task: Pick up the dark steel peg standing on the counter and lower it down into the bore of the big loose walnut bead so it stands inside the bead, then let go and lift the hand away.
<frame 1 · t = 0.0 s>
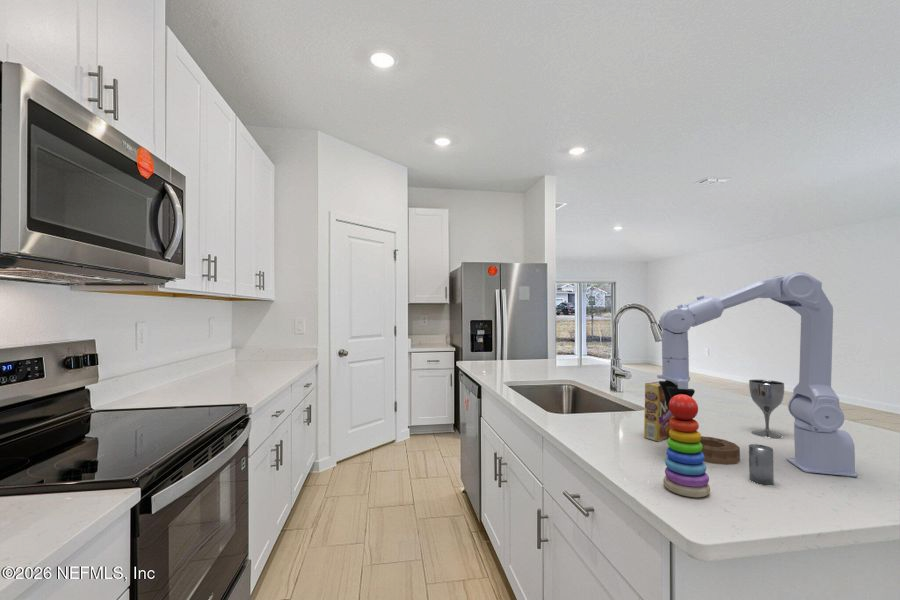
hand: (676, 413, 99), 10 cm above the worktop, tool pointing down, fingers open, 7 cm apart
wine glass: (767, 435, 115), on the worktop
steel peg: (761, 481, 83), on the worktop
stacking toy: (686, 490, 79), on the worktop
walnut bead: (711, 455, 98), on the worktop
candy box: (660, 438, 112), on the worktop
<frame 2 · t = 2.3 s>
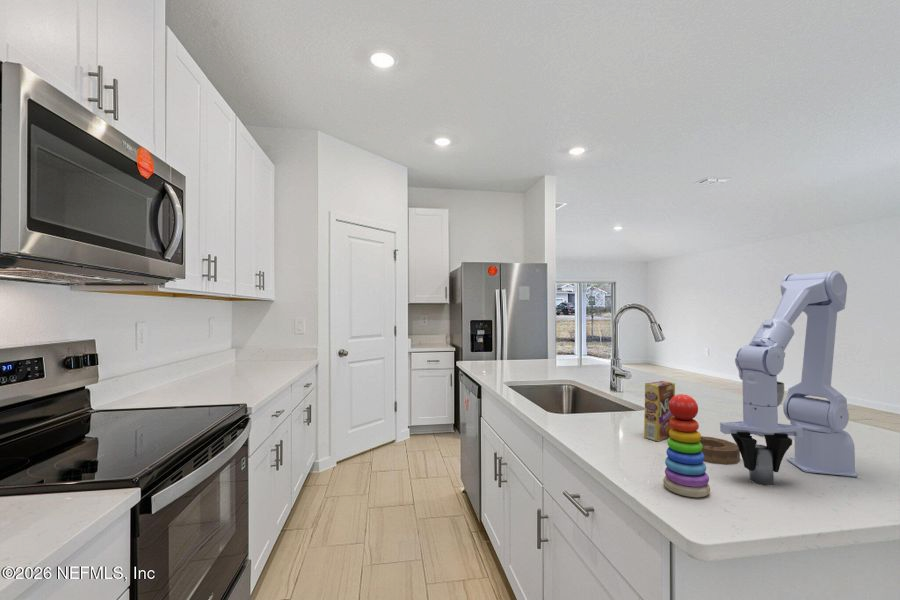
hand: (761, 469, 83), 2 cm above the worktop, tool pointing down, fingers closed on steel peg, 4 cm apart
steel peg: (761, 481, 83), on the worktop, touching gripper
everything else where it was.
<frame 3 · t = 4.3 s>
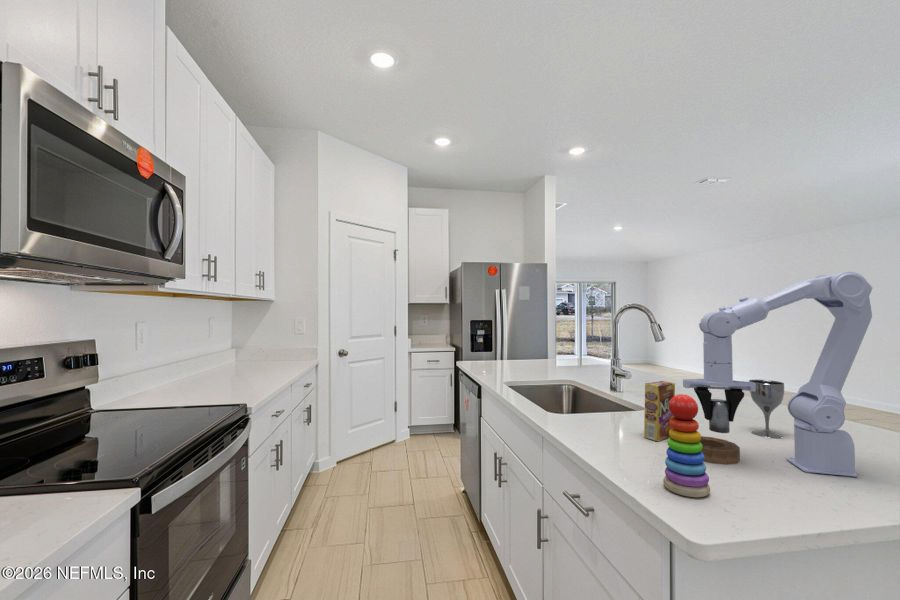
hand: (718, 419, 95), 9 cm above the worktop, tool pointing down, fingers closed on steel peg, 4 cm apart
steel peg: (719, 430, 95), point 7 cm above the worktop, touching gripper
everything else where it was.
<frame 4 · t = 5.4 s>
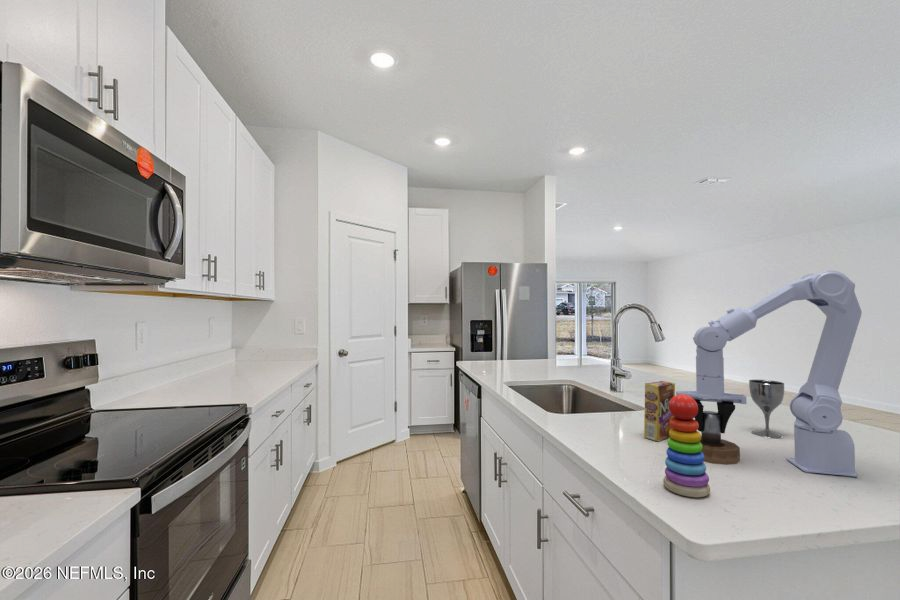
hand: (710, 431, 98), 6 cm above the worktop, tool pointing down, fingers closed on steel peg, 4 cm apart
steel peg: (711, 441, 98), point 3 cm above the worktop, touching gripper
everything else where it was.
when the fingers open (4 cm above the worktop, at t = 6.3 s): steel peg drops 1 cm, resting in walnut bead.
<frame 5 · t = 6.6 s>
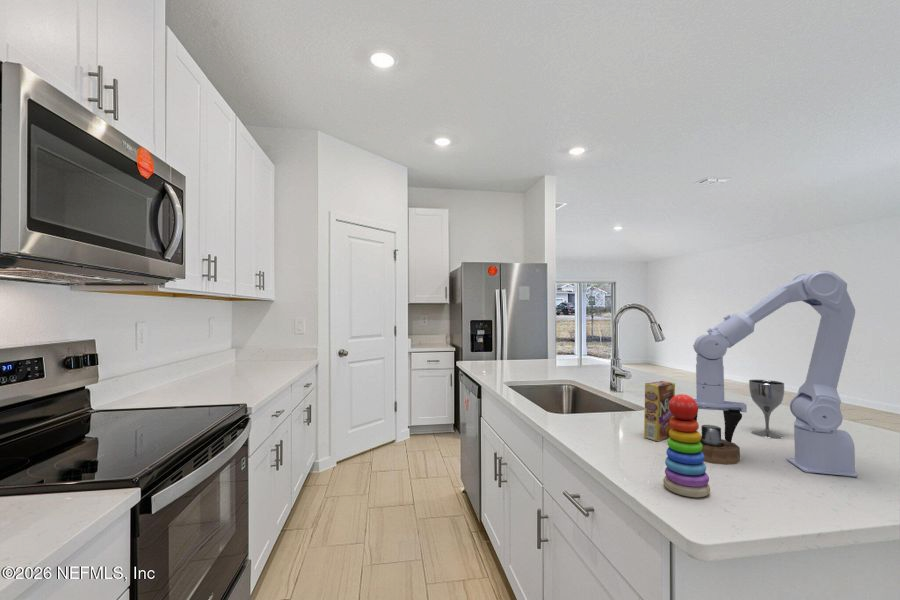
hand: (711, 439, 98), 4 cm above the worktop, tool pointing down, fingers open, 7 cm apart
steel peg: (711, 456, 98), resting in walnut bead
everything else where it was.
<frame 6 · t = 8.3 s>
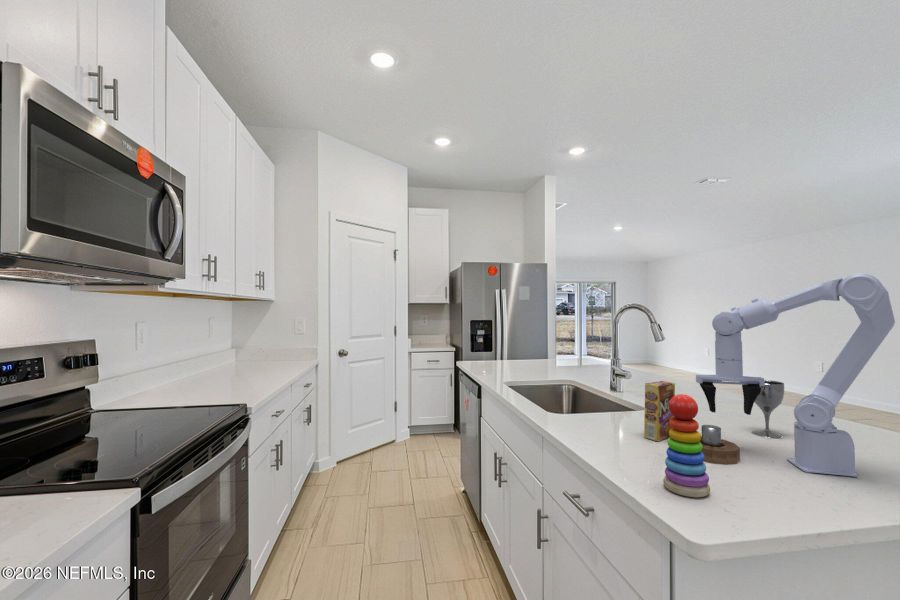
hand: (729, 412, 102), 9 cm above the worktop, tool pointing down, fingers open, 7 cm apart
nothing on the worktop moved.
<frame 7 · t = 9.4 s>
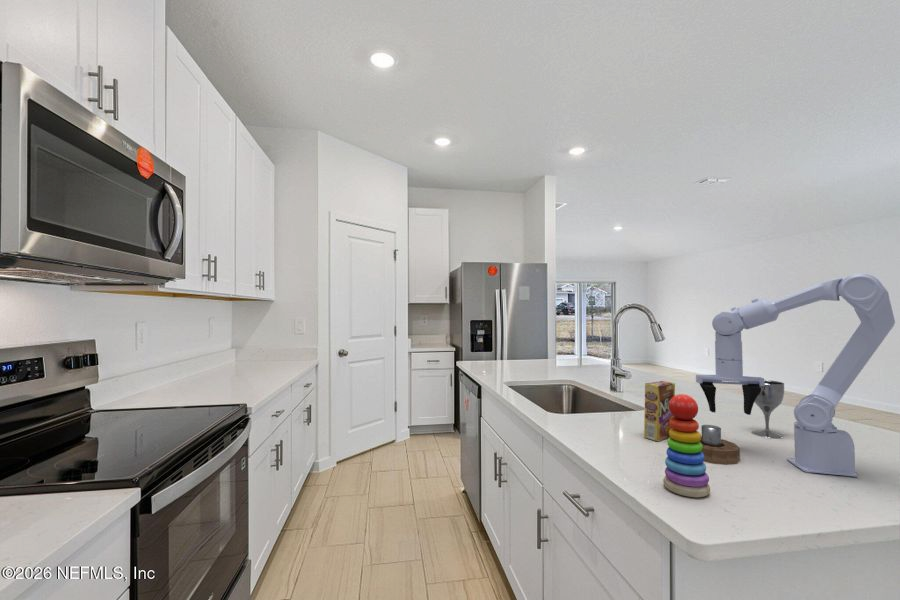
hand: (729, 412, 102), 9 cm above the worktop, tool pointing down, fingers open, 7 cm apart
nothing on the worktop moved.
at the end: steel peg 0.2 cm from the walnut bead (horizontally); steel peg resting in walnut bead; steel peg tilted 0° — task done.
